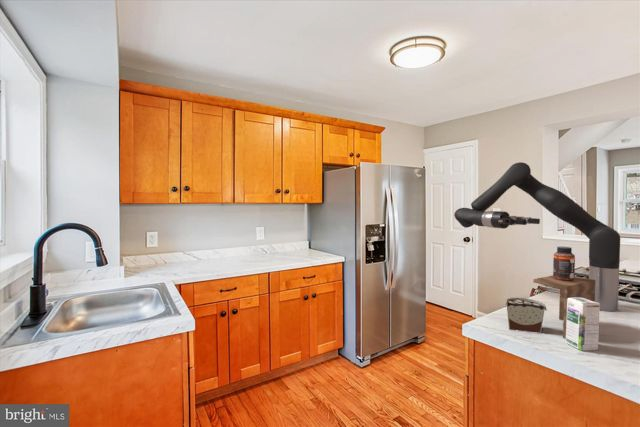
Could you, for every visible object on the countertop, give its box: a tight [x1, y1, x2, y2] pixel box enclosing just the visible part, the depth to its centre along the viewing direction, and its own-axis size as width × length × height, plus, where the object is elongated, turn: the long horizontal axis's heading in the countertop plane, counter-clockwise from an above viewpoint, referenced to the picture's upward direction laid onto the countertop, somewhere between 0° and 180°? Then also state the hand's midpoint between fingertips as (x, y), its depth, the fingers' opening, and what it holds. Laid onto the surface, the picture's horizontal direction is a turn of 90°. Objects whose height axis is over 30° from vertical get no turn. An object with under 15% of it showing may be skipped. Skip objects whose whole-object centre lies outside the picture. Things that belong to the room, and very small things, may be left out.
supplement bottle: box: [552, 246, 576, 281], centre depth 110 cm, size 6×6×11 cm
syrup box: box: [565, 297, 601, 352], centre depth 97 cm, size 6×6×14 cm
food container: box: [504, 297, 548, 334], centre depth 111 cm, size 12×6×10 cm, turn 71°
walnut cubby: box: [532, 274, 596, 340], centre depth 110 cm, size 18×10×17 cm, turn 116°
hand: (532, 221), depth 128 cm, fingers open, 8 cm apart
